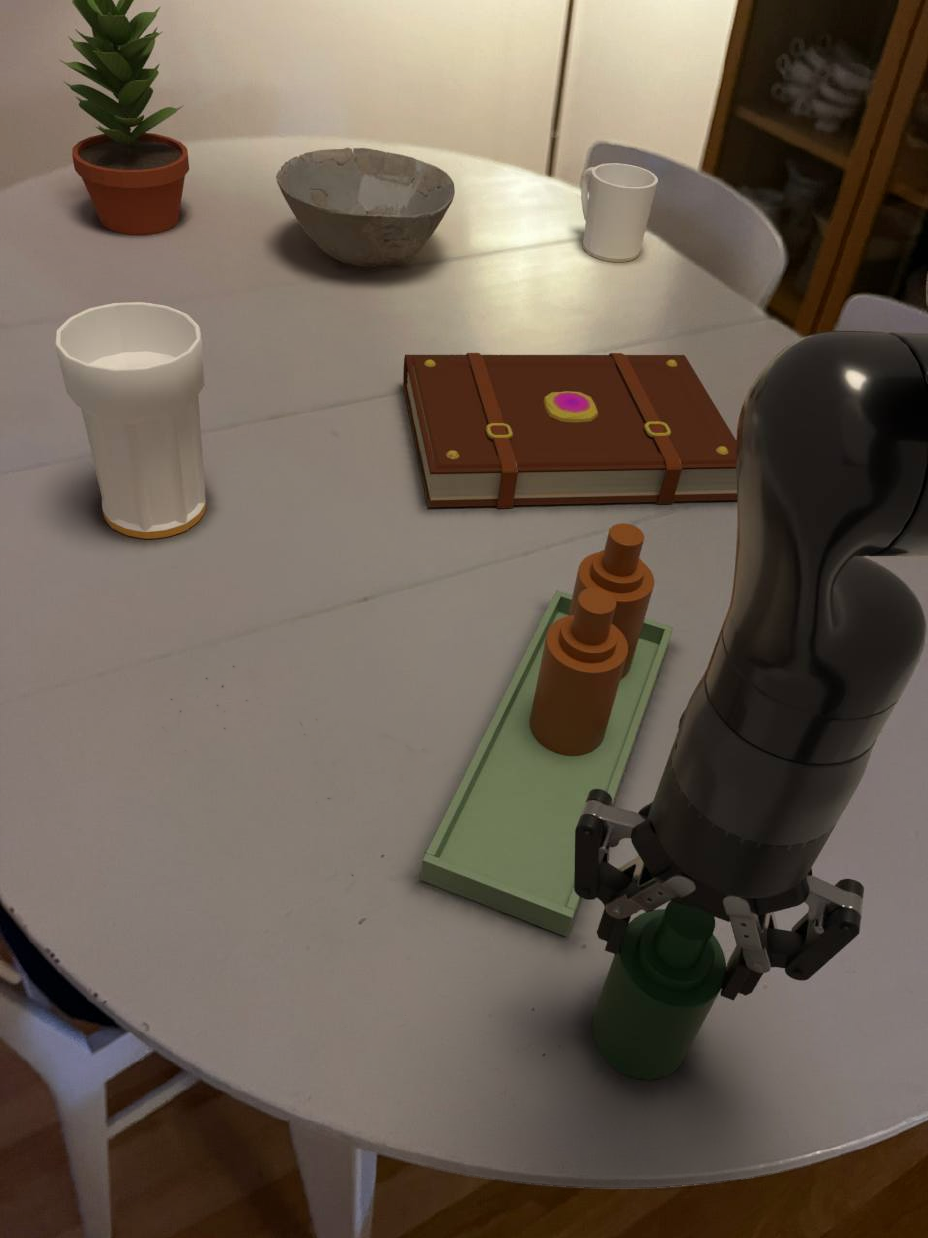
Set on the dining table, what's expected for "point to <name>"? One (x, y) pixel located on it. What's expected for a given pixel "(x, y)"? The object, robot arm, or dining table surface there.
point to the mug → (616, 210)
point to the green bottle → (658, 991)
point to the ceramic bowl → (366, 203)
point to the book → (566, 430)
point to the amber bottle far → (620, 582)
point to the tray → (535, 793)
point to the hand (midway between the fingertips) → (672, 960)
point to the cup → (139, 412)
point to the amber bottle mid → (579, 676)
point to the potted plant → (125, 125)
